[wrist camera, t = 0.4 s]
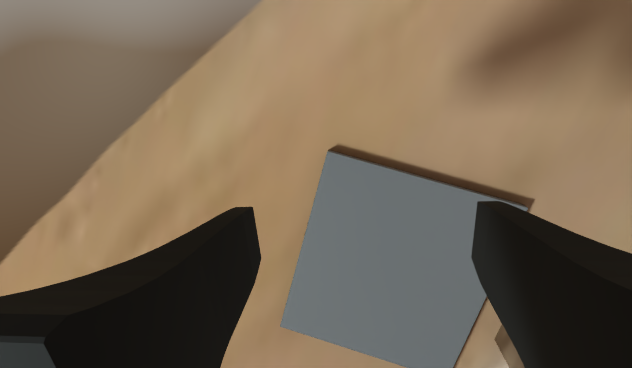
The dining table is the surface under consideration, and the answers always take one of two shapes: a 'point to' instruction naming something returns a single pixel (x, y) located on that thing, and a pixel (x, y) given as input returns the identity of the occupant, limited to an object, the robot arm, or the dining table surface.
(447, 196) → the grey flat square slab
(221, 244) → the robot arm
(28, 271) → the dining table surface
